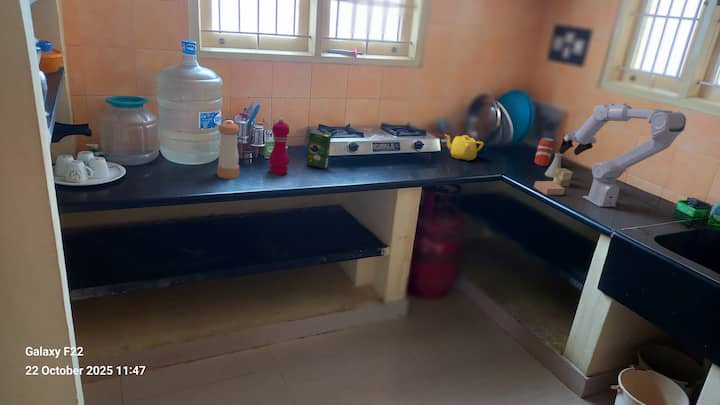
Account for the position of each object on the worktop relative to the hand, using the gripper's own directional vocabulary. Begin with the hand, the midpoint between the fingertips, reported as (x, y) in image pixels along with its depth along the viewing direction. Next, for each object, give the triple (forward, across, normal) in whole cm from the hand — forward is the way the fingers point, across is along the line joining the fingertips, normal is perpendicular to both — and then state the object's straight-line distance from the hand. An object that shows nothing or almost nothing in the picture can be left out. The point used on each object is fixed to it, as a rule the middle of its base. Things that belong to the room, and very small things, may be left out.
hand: (567, 153), depth 209 cm
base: (+7, +12, +14) cm, 20 cm away
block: (+10, 0, +8) cm, 13 cm away
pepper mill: (+24, +114, -3) cm, 116 cm away
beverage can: (+22, -8, -13) cm, 27 cm away
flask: (+15, -3, 0) cm, 15 cm away
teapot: (+29, +29, -20) cm, 45 cm away
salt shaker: (+24, +132, 0) cm, 134 cm away
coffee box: (+26, +98, -8) cm, 101 cm away
